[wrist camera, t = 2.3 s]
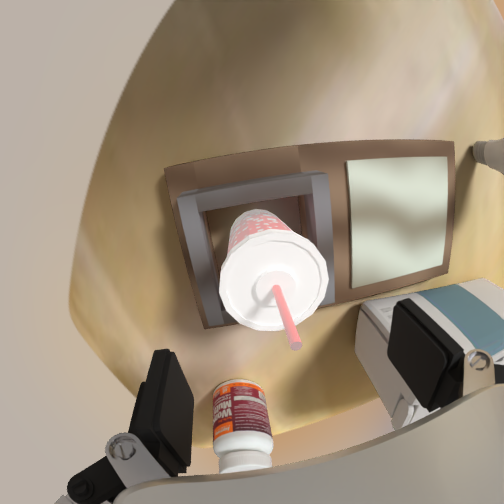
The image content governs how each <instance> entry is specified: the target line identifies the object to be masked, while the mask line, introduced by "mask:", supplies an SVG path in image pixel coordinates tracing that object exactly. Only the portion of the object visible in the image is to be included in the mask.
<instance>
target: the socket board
mask: <svg viewBox="0 0 504 504" xmlns="http://www.w3.org/2000/svg"><path fill="white" fill-rule="evenodd" d="M164 172H165V177H166V182H167V187H168V191H169V196H170V201H171V205H172V210H173V214H174V218H175V223H176V227H177V231H178V235H179V239H180V243H181V247H182V251H183V255H184V259H185V263H186V267H187V271H188V274H189V278H190V282H191V285H192V289H193V292H194V296H195V299H196V303H197V306H198V310H199V313H200V316H201V320H202V323H203V326H204V329H209V328H216V327H222V326H229V325H235V324H240V323H239V322H238V321H237V320H235V319H234V318H233V317H232V316H231V315H230V314H229V313H228V312H227V311H226V309H225V307H224V304H223V301H222V299H221V296H220V294H219V286H220V276H219V271H218V267H217V262H216V258H215V253H214V249H213V244H212V239H211V234H210V230H209V225H208V220H207V215H206V211H208V210H214V209H219V208H225V207H230V206H236V205H242V204H248V203H253V202H259V201H266V200H272V199H278V198H285V197H291V196H298V202H299V211H300V220H301V230H302V237H304V238H306V239H308V240H309V241H310V242H311V243H313V244H314V245H315V247H316V248H317V250H318V251H319V252H320V254H321V255H322V257H323V258H324V259H325V261H326V266H327V272H328V278H329V281H328V285H327V289H326V293H325V297H324V299H323V300H322V302H321V303H320V304H319V306H318V307H317V309H318V308H322V307H326V306H331V305H335V304H339V303H344V302H348V301H352V300H356V299H360V298H364V297H368V296H371V295H375V294H379V293H383V292H386V291H390V290H394V289H397V288H401V287H404V286H408V285H411V284H415V283H418V282H421V281H425V280H428V279H431V278H434V277H437V276H440V275H444V274H447V273H448V269H449V262H450V255H451V247H452V237H453V226H454V211H455V151H454V142H453V141H442V140H359V141H340V142H326V143H315V144H304V145H294V146H286V147H277V148H270V149H262V150H255V151H249V152H242V153H236V154H230V155H224V156H219V157H213V158H208V159H203V160H198V161H193V162H188V163H184V164H179V165H175V166H170V167H167V168H164Z"/></svg>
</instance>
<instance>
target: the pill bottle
mask: <svg viewBox="0 0 504 504" xmlns="http://www.w3.org/2000/svg"><path fill="white" fill-rule="evenodd" d="M213 449H214V452H215V454H216V455H217V456H218V457H219V458H220V459H219V474H222V473H232V472H241V471H249V470H256V469H263V468H269V467H272V460H271V457H270V455H269V454H270V453H271V452H272V450H273V438H272V433H271V428H270V423H269V417H268V412H267V406H266V400H265V394H264V391H263V389H262V388H261V387H260V386H259V385H258V384H257V383H255V382H252V381H249V380H244V379H234V380H229V381H226V382H224V383H222V384H220V385H219V386H218V387H217V388H216V389H215V391H214V393H213Z"/></svg>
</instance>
